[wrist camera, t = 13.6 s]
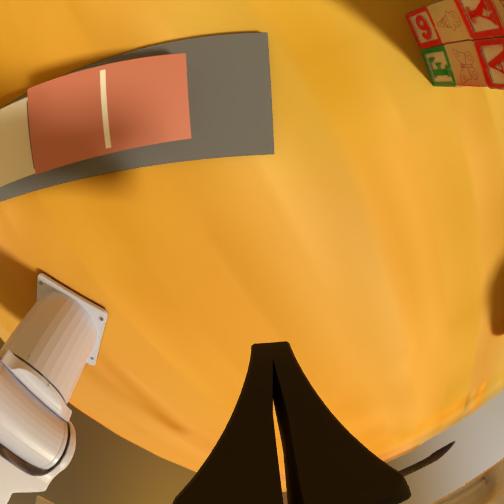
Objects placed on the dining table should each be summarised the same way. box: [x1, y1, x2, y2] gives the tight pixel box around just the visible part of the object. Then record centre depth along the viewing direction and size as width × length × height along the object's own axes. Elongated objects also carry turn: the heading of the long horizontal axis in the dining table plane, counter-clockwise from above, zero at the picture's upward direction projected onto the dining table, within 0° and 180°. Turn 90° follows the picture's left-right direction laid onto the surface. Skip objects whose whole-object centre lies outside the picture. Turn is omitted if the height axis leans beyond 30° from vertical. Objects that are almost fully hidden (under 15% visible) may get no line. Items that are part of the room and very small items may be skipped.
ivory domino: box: [0, 97, 35, 187], centre depth 12 cm, size 2×5×9 cm
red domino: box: [27, 53, 191, 175], centre depth 12 cm, size 2×5×9 cm
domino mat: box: [0, 33, 274, 202], centre depth 14 cm, size 28×8×1 cm, turn 93°
